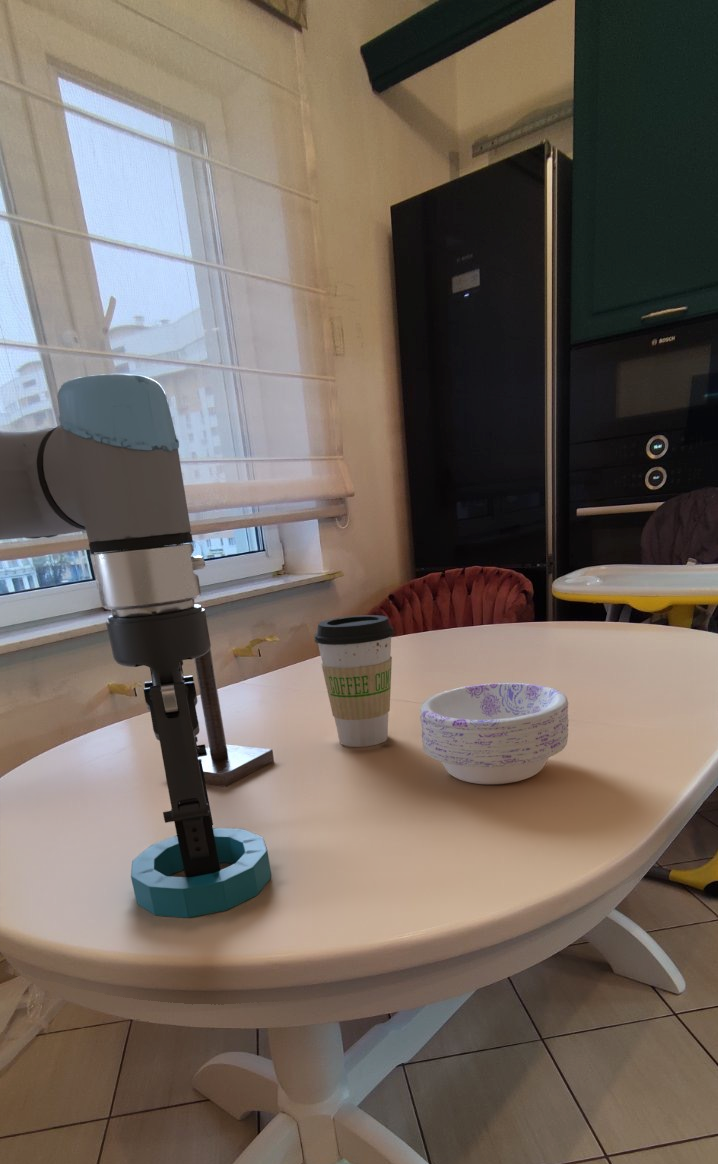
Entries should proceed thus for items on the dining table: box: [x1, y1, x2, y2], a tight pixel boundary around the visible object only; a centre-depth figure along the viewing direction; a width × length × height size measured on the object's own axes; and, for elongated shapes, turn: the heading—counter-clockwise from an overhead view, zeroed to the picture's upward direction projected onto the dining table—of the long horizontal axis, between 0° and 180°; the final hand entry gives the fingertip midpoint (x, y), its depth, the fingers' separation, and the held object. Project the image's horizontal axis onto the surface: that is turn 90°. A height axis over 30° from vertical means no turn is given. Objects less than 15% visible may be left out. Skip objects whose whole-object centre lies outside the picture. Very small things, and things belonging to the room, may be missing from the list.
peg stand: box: [193, 647, 275, 787], centre depth 84 cm, size 9×9×16 cm
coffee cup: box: [313, 614, 396, 748], centre depth 90 cm, size 10×10×15 cm
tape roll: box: [130, 827, 272, 919], centre depth 59 cm, size 11×11×2 cm
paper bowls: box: [419, 682, 569, 785], centre depth 77 cm, size 15×15×8 cm
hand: (202, 855), depth 64 cm, fingers open, 13 cm apart
